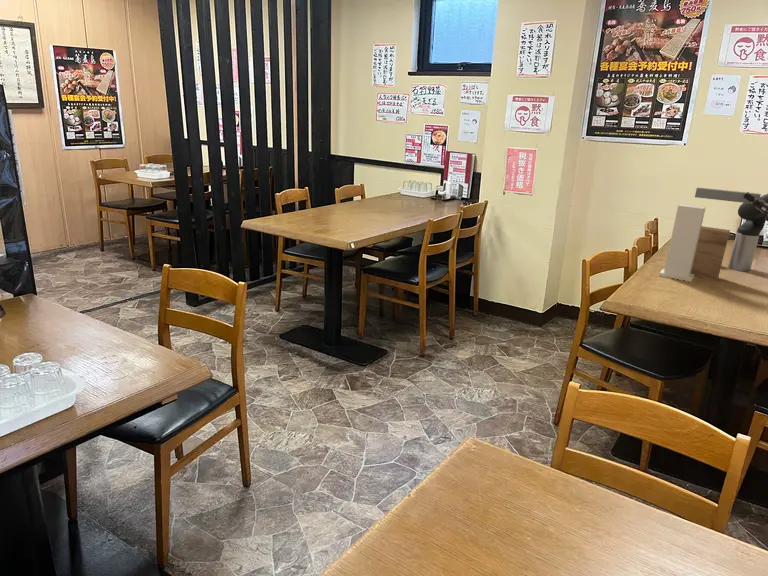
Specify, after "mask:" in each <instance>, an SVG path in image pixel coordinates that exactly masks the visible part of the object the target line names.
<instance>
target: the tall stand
mask: <svg viewBox="0 0 768 576" xmlns="http://www.w3.org/2000/svg"><path fill="white" fill-rule="evenodd" d="M705 212H706V206H699V205H692V204H683V203H680V204H679V205H677V210H676V212H675V218H674V224H673V228H672V231H671V232H672V233H671V238H670V243H669V248H668V252H667V256H666V261H665V266H664V268H662V269H661V270H660V272H659V277H663V278H668V279H672V278H674V279H673V280H677V279H679V281H683V280H685V281H684V282H688V281H689V282H690V283H692V281H693V280H692V279H694V278H695V276H694V274H691V270H692V265H693V261H694V257H695V252H696V248H697V243H698V239H699V235H700V230H701V226H703V223H704V222H703V221H704V218H705V217H704V216H705ZM689 282H688V283H689Z"/></svg>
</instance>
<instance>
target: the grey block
mask: <svg viewBox="0 0 768 576" xmlns="http://www.w3.org/2000/svg"><path fill="white" fill-rule="evenodd" d="M747 192H748V191H747ZM747 192H745V191H739V190H737V191H736V190H728V189H718V188H717V189H715V188H706V187H697V188H696V189H695V194H694V198H699V199H705V200H706V199H707V200H716V201H724V202H725V201H726V202H735V203H741V204H742V203H751V202H750V201H748V200H747V199H745V198H744V197H743V196H744V195H745V194H746V193H747ZM749 194H750V195H752V196H753V197H754V199H755V198H757V199H758V200H759V199H760V197H761V196H762V195H761V193H757V192H756V193H755V192H749ZM756 204H758V202H757V203H756Z"/></svg>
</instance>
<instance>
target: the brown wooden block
mask: <svg viewBox="0 0 768 576" xmlns="http://www.w3.org/2000/svg"><path fill="white" fill-rule="evenodd" d="M730 232H731V230H730V229H726V228H718V227H716V228H715V227H710V226H703V225H702V226H701V230H700V235H699V239H698V243H697V248H696V252H695V257H694V261H693V265H692V270H691V274H694V277H696V276H698V277H697V278H701V277H703V278H702V279H707V278H708V279H709V280H712V279H713V280H714V281H718V280H719V276H720V273H721V272H720V271H721V269H722V265H723V260H724V256H725V253H726V248H727V244H728V240H729V235H730ZM713 280H712V281H713Z"/></svg>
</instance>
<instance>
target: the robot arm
mask: <svg viewBox="0 0 768 576" xmlns="http://www.w3.org/2000/svg"><path fill="white" fill-rule="evenodd" d="M749 193H750V192H749V191H747V193H746V194H745V195H744V196H743V197H744V198H745V199H747V200H748V201H750V202H751V203H742V202H741V204H740V205H739V207H738V210H737V215H738V216H739V218H741V219H743V220H744V222H743V223H742V224H741V225H739V226H738V228H737V229H736V234H735V239H734V243H733V246H732V251H731V254H730V258H729V262H728V269H732V270H735V271H740V272H741V271H743V272H750V271H751V268H752V264H753V261H754V257H755V253H756V250H757V249H756V248H757V246H758V243H759V238H760V234H761V232H762V231H763V229H764V227H765V224H766V222H768V193H766V194H763V195H760V199H759V200H758V199H757V198H755V199H754V197H753V196H752V195H750V194H749ZM757 202H758V204H756V203H757Z"/></svg>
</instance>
